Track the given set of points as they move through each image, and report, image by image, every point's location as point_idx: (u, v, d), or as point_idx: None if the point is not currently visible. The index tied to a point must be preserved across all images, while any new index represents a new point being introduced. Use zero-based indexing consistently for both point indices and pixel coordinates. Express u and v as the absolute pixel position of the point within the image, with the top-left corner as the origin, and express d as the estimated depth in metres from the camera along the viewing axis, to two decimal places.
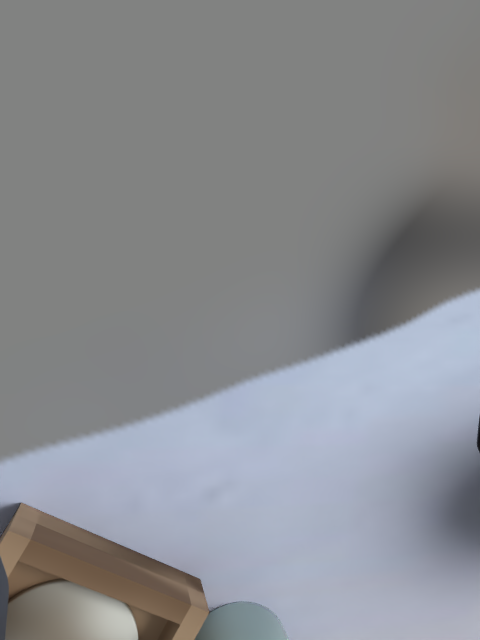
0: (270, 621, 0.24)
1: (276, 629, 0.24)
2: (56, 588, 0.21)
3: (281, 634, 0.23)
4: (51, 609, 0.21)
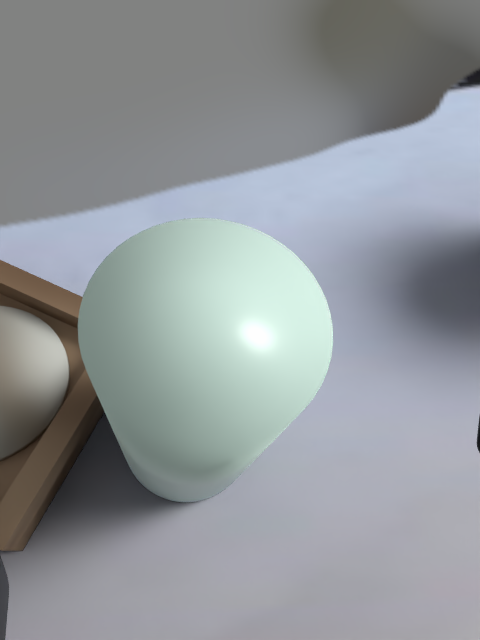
0: None
1: None
2: None
3: None
4: None
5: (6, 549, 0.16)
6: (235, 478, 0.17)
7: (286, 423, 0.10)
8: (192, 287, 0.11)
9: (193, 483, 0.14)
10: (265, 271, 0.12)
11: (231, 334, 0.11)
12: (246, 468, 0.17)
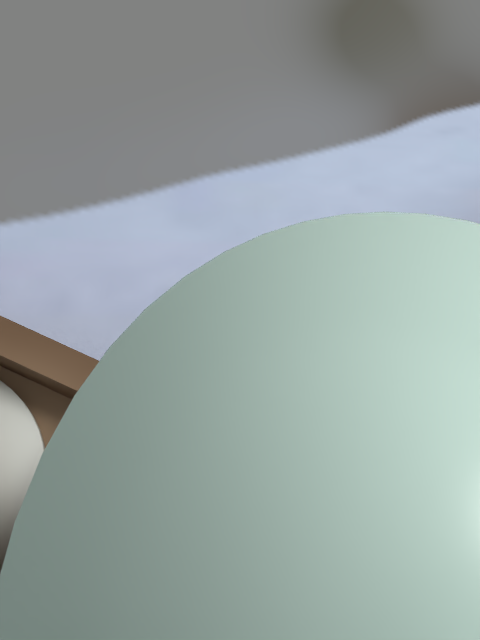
0: None
1: None
2: None
3: None
4: None
5: None
6: None
7: None
8: (417, 460, 0.03)
9: None
10: None
11: None
12: None
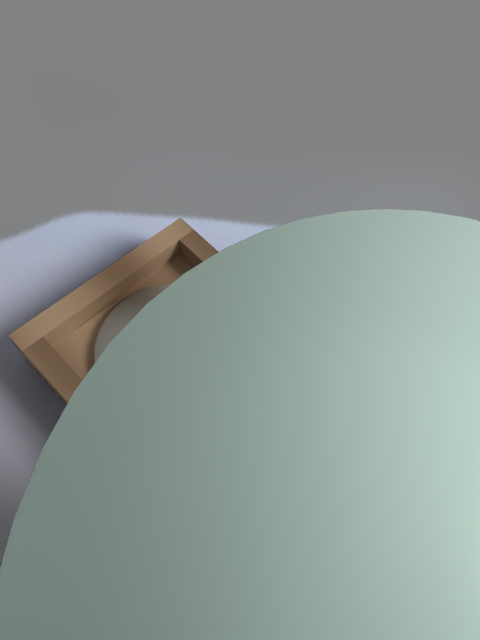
0: None
1: None
2: None
3: None
4: None
5: None
6: None
7: None
8: (417, 457, 0.03)
9: None
10: None
11: None
12: None
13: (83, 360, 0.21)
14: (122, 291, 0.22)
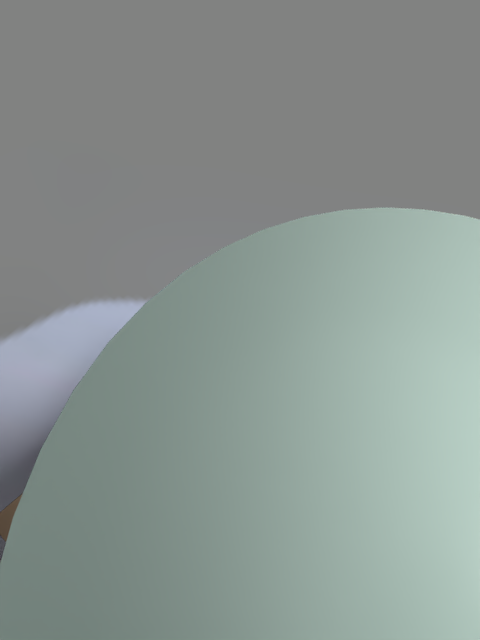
0: None
1: None
2: None
3: None
4: None
5: None
6: None
7: None
8: (418, 456, 0.03)
9: None
10: None
11: None
12: None
13: None
14: None
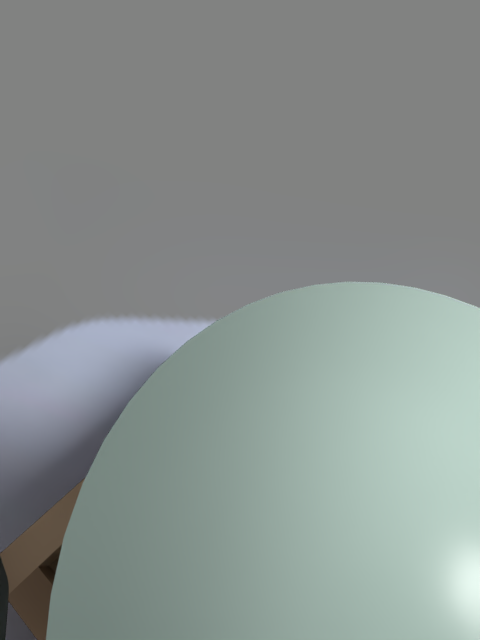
0: None
1: None
2: None
3: None
4: None
5: None
6: None
7: None
8: (363, 487, 0.04)
9: None
10: None
11: None
12: None
13: None
14: None
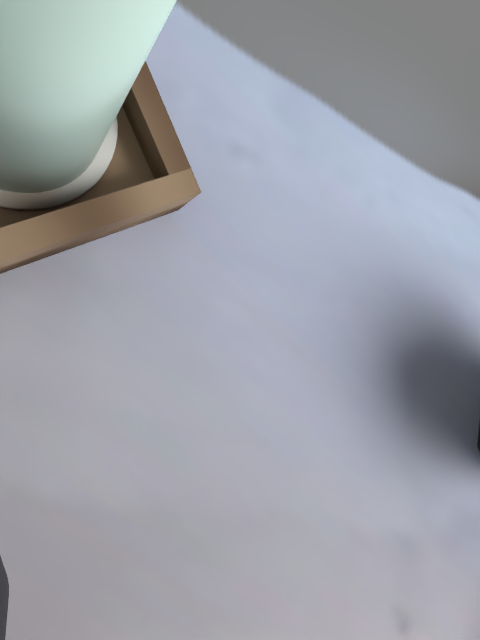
0: None
1: None
2: None
3: None
4: None
5: None
6: (49, 156, 0.13)
7: None
8: None
9: None
10: None
11: None
12: (67, 144, 0.13)
13: None
14: None
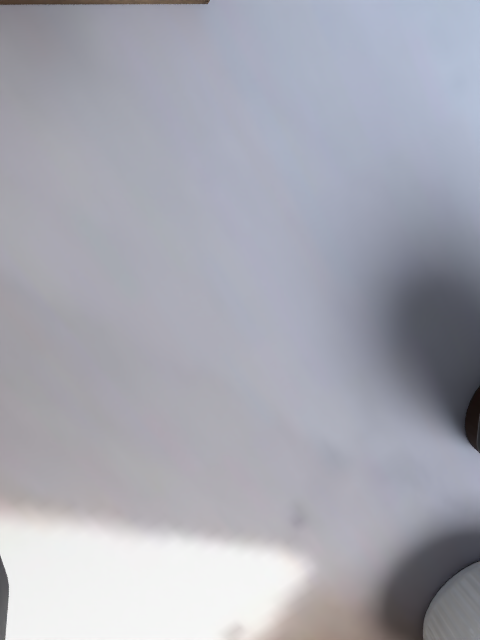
0: None
1: None
2: None
3: None
4: None
5: None
6: None
7: None
8: None
9: None
10: None
11: None
12: None
13: None
14: None
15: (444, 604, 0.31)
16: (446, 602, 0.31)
